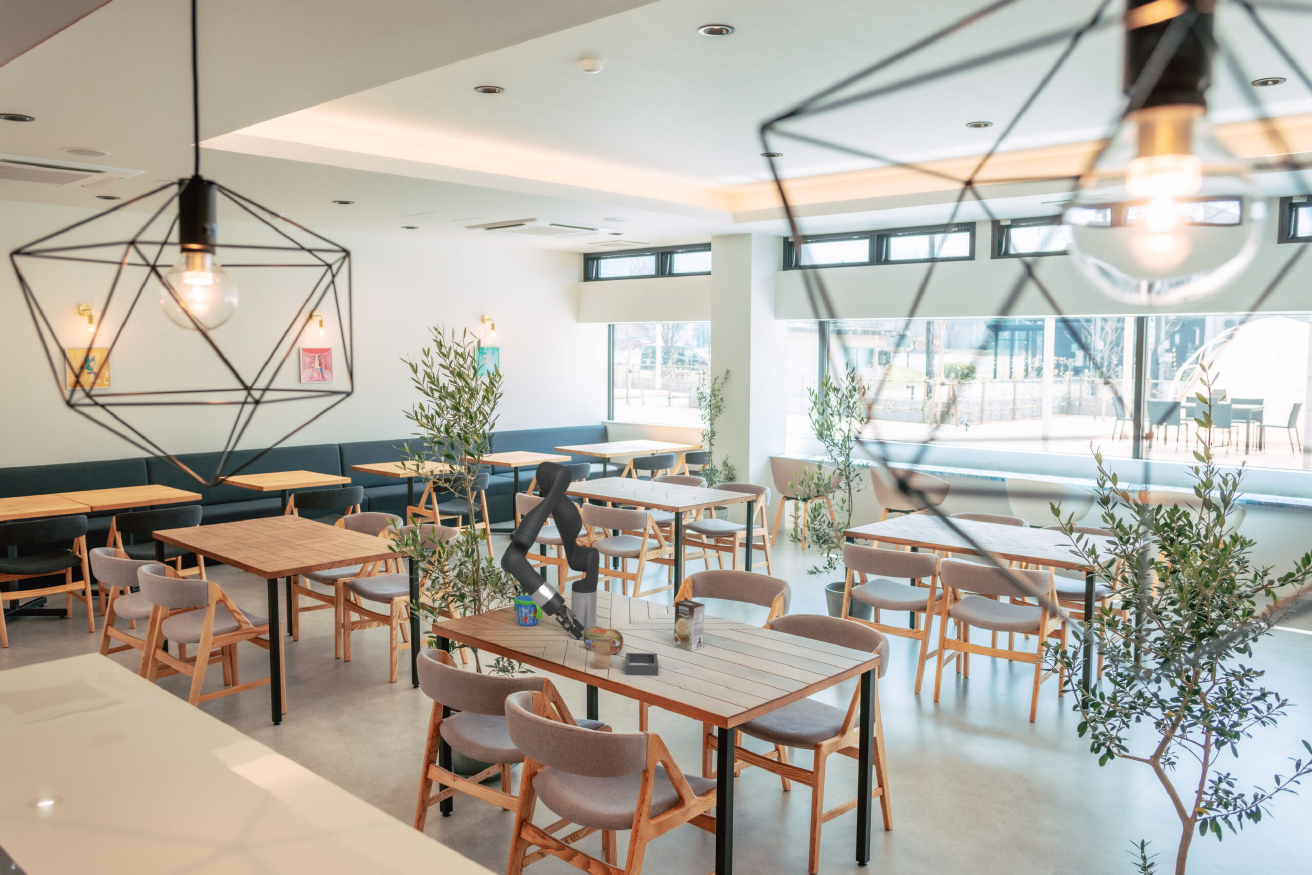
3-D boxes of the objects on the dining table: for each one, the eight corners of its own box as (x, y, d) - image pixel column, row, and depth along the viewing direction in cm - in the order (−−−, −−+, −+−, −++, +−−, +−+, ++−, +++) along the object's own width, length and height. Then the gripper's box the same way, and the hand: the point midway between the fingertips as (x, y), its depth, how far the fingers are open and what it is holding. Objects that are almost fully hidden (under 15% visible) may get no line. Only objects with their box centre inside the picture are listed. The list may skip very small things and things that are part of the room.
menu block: (594, 665, 303) (595, 637, 303) (609, 666, 303) (610, 637, 303) (593, 669, 300) (594, 640, 299) (609, 669, 300) (610, 640, 299)
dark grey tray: (625, 661, 309) (626, 652, 309) (656, 662, 309) (656, 653, 309) (625, 674, 295) (625, 665, 295) (657, 675, 295) (658, 666, 295)
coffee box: (672, 645, 329) (674, 601, 328) (684, 642, 334) (685, 599, 333) (692, 651, 323) (693, 606, 322) (703, 648, 328) (705, 603, 327)
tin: (582, 649, 322) (583, 625, 321) (587, 647, 324) (588, 623, 324) (619, 656, 315) (620, 632, 314) (624, 654, 317) (625, 630, 317)
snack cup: (505, 621, 356) (506, 595, 355) (529, 617, 362) (530, 592, 361) (525, 630, 343) (525, 603, 343) (549, 626, 349) (550, 600, 349)
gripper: (553, 595, 293) (589, 631, 294) (557, 585, 307) (591, 620, 308) (536, 611, 293) (571, 647, 294) (541, 601, 307) (574, 635, 308)
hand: (581, 633), depth 301 cm, fingers open, 8 cm apart
